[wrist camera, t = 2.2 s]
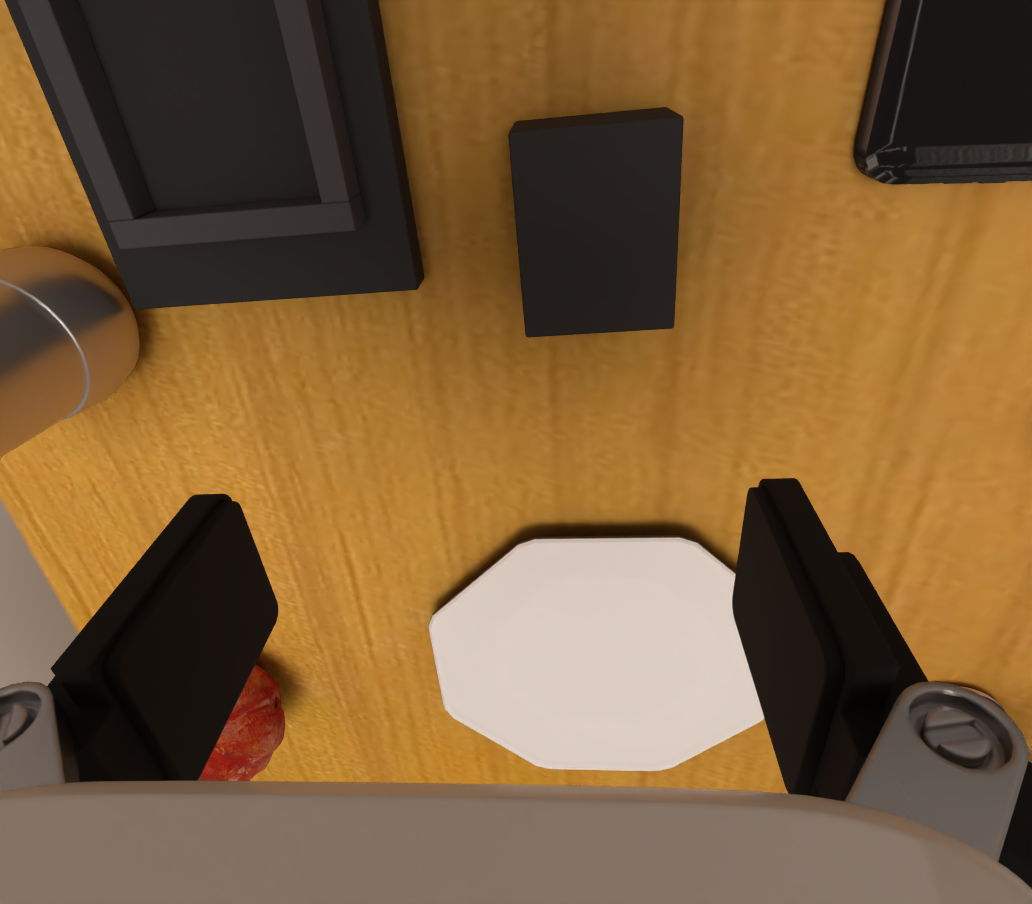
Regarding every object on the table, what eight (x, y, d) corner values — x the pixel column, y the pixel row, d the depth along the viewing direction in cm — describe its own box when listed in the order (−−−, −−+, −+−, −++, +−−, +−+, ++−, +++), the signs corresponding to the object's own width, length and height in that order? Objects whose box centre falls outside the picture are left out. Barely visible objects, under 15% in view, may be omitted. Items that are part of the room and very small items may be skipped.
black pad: (514, 121, 23) (507, 132, 20) (668, 106, 23) (684, 115, 20) (529, 306, 27) (525, 338, 24) (661, 297, 26) (674, 329, 24)
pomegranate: (326, 671, 44) (263, 667, 35) (296, 789, 42) (220, 818, 32) (225, 654, 45) (137, 645, 36) (191, 768, 42) (87, 790, 33)
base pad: (-53, -218, 19) (-146, -258, 17) (331, -279, 18) (294, -332, 16) (153, 297, 28) (112, 323, 25) (424, 278, 27) (410, 303, 24)
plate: (750, 752, 43) (756, 773, 41) (458, 747, 44) (455, 768, 43) (803, 518, 32) (813, 538, 31) (416, 523, 34) (411, 542, 32)
